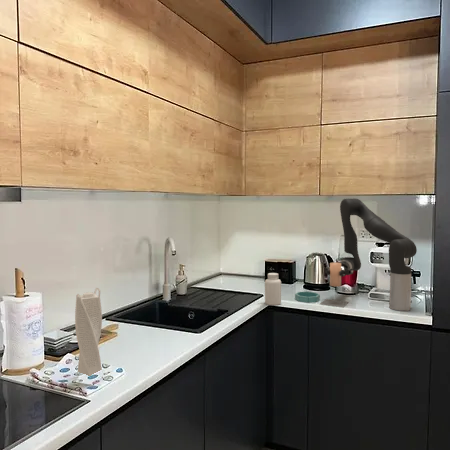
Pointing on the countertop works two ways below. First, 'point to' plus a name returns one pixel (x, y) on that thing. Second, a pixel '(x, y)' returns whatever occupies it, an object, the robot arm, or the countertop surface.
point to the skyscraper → (88, 331)
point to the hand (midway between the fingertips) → (334, 273)
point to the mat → (334, 303)
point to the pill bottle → (273, 289)
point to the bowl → (307, 297)
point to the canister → (335, 274)
